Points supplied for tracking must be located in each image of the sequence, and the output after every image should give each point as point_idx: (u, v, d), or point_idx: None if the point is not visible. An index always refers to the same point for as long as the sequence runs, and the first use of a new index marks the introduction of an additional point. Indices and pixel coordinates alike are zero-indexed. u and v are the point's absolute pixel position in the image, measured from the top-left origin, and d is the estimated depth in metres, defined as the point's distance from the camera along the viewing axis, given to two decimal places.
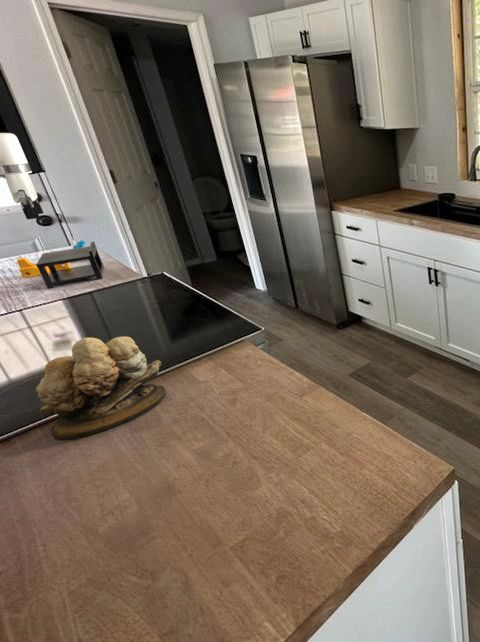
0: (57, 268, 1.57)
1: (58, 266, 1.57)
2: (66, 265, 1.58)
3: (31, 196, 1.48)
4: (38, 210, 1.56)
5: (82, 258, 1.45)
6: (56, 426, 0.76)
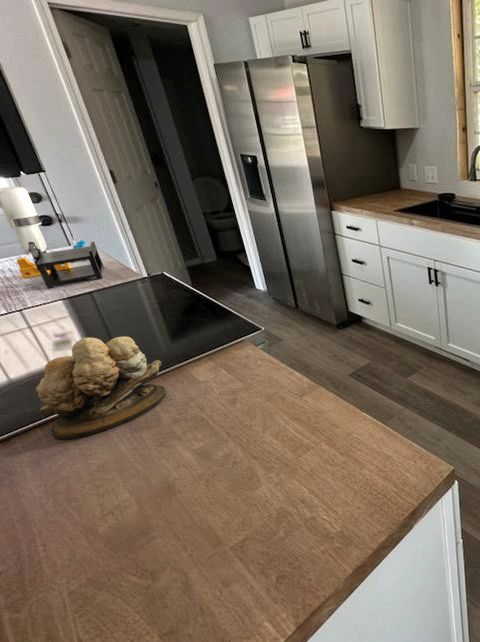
0: (57, 268, 1.57)
1: (58, 266, 1.57)
2: (66, 265, 1.58)
3: (41, 247, 1.50)
4: None
5: (82, 258, 1.45)
6: (56, 426, 0.76)
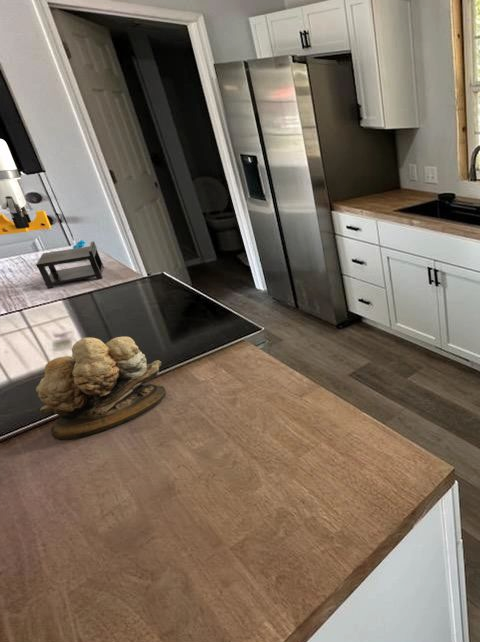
0: (36, 227, 1.51)
1: (37, 225, 1.51)
2: (46, 224, 1.52)
3: (19, 203, 1.44)
4: None
5: (82, 258, 1.45)
6: (56, 426, 0.76)
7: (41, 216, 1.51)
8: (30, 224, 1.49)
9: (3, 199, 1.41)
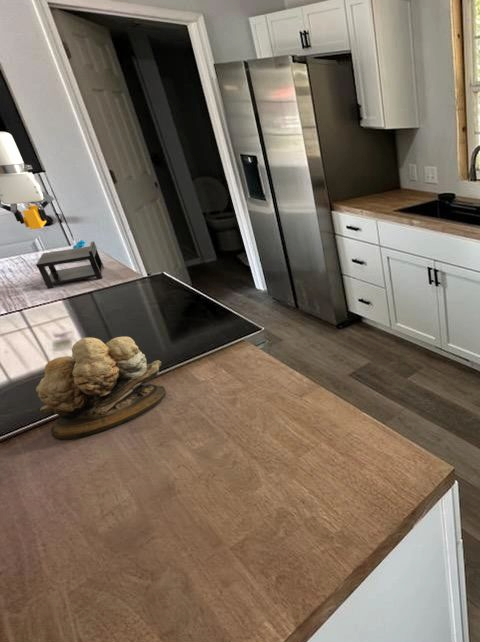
0: None
1: None
2: (28, 224, 1.43)
3: (0, 199, 1.40)
4: None
5: (82, 258, 1.45)
6: (56, 426, 0.76)
7: (25, 215, 1.42)
8: None
9: None
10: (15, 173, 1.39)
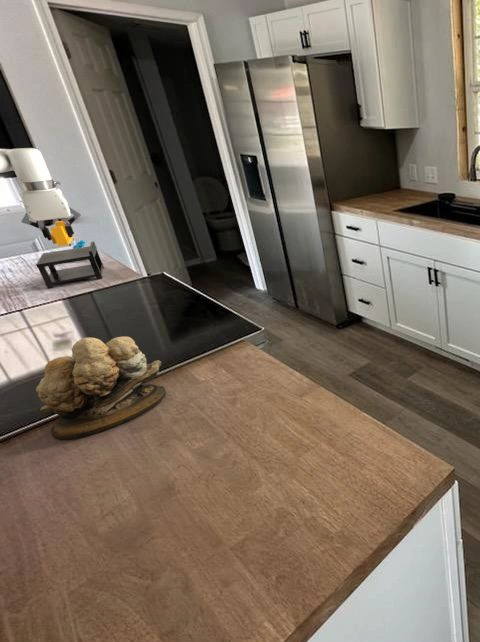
0: None
1: None
2: (56, 241, 1.41)
3: (28, 216, 1.38)
4: (67, 233, 1.46)
5: (82, 258, 1.45)
6: (56, 426, 0.76)
7: None
8: None
9: None
10: (43, 190, 1.37)
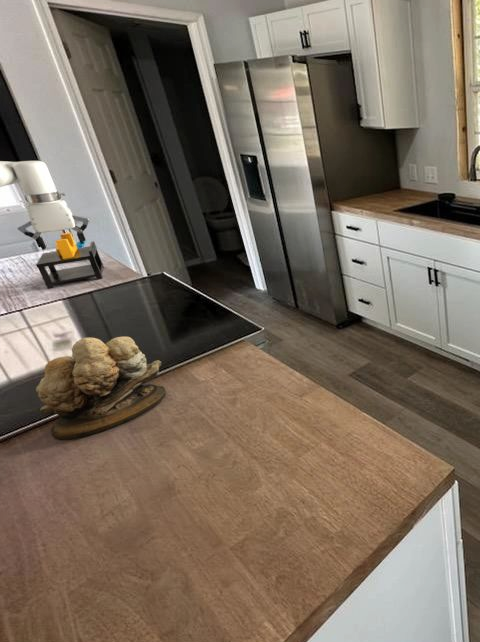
0: None
1: None
2: (61, 253, 1.43)
3: (34, 228, 1.39)
4: None
5: (82, 258, 1.45)
6: (56, 426, 0.76)
7: None
8: None
9: None
10: (48, 202, 1.39)
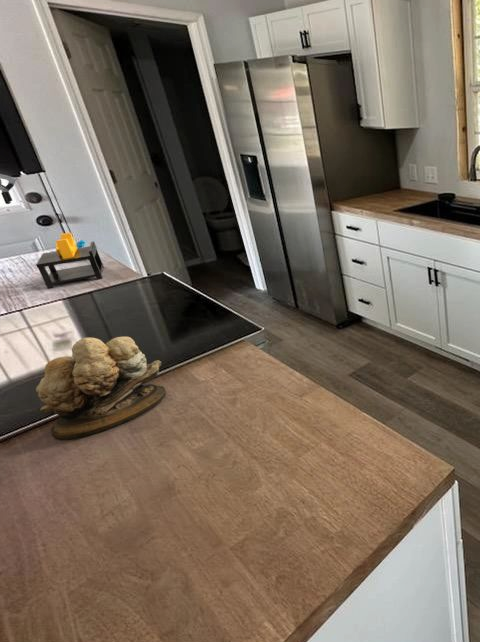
0: None
1: None
2: (61, 253, 1.43)
3: None
4: None
5: (82, 258, 1.45)
6: (56, 426, 0.76)
7: None
8: None
9: None
10: None
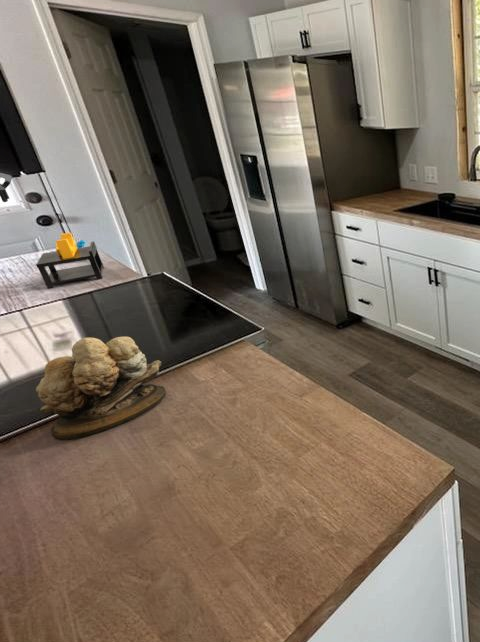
0: None
1: None
2: (61, 253, 1.43)
3: None
4: None
5: (82, 258, 1.45)
6: (56, 426, 0.76)
7: None
8: None
9: None
10: None
